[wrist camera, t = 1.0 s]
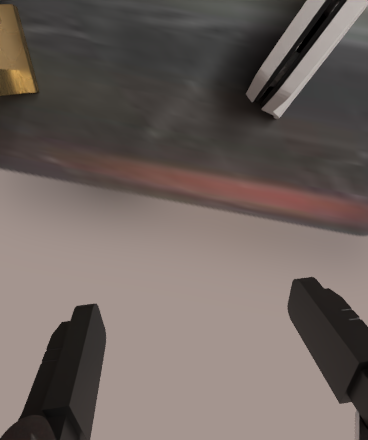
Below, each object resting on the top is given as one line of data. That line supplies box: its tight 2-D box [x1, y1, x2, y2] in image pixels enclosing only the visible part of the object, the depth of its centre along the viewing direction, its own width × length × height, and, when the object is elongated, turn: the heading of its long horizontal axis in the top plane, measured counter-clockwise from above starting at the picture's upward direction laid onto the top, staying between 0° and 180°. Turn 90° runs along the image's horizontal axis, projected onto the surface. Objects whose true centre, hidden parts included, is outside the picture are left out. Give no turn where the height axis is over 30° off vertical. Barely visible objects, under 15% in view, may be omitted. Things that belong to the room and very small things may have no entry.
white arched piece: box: [246, 0, 368, 119], centre depth 24 cm, size 17×5×10 cm, turn 145°
